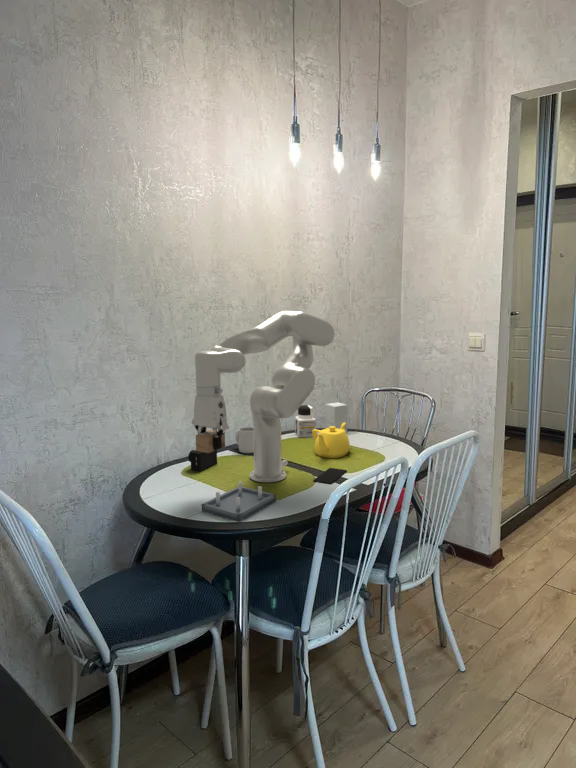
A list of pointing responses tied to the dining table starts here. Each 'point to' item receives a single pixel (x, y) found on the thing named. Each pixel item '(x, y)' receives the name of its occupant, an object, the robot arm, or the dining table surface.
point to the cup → (245, 440)
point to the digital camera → (202, 460)
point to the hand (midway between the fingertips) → (210, 447)
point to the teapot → (331, 442)
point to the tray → (238, 503)
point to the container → (305, 421)
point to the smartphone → (330, 476)
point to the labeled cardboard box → (207, 441)
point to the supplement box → (336, 415)
